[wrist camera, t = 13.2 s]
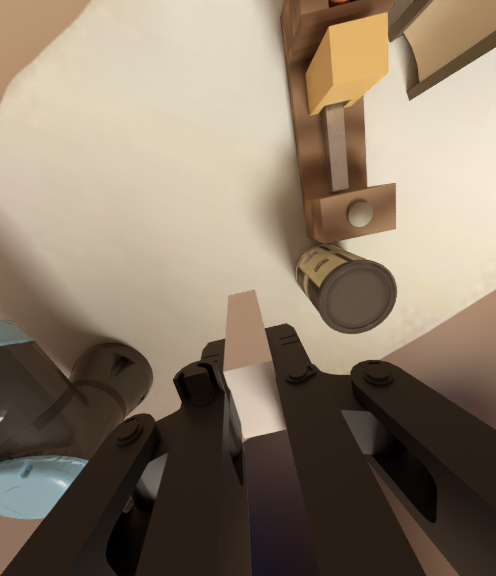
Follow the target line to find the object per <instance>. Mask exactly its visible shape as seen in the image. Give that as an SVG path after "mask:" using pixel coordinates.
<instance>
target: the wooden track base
mask: <svg viewBox="0 0 496 576" xmlns="http://www.w3.org/2000/svg"><path fill="white" fill-rule="evenodd" d="M393 5H394V0H351V1H350V3H347V4H343V5H339V6H335V7H331V8H329V5H328V0H284V2H283V7H282V12H281V25H282V33H283V41H284V49H285V58H286V66H287V74H288V82H289V90H290V98H291V106H292V114H293V122H294V130H295V138H296V146H297V154H298V162H299V170H300V178H301V186H302V194H303V202H304V210H305V218H306V226H307V234H308V237H311V238H313V239H315V240H317V241H319V242H322V243H324V244H326V243H331V242H336V241H341V240H345V239H350V238H355V237H360V236H364V235H369V234H374V233H379V232H383V231H388V230H393V229H396V183H392V184H385V185H378V186H371V187H367V171H366V147H365V124H364V100H363V96H362V97H360V98H359V99H358V100H357V101H356V102H355V103H354V104H353V105H352V106H349V107H345V108H343V109H344V124H345V140H346V155H347V170H348V186H349V188H347V189H342V190H338V191H333V192H328V181H327V170H326V159H325V148H324V137H323V126H322V115H321V111H320V112H319V113H318V114H315V115H310V113H309V104H308V94H307V84H306V75H305V74H306V72H307V70H308V68H309V66H310V64H311V62H312V60H313V58H314V56H315V54H316V52H317V50H318V47H319V45H320V43H321V41H322V39H323V37H324V35H325V33H326V31H327V29H328V27H329V26H333V25H337V24H341V23H345V22H349V21H353V20H357V19H361V18H366V17H370V16H374V15H378V14H382V13H386V12H389V10H390V9H391V8H392V6H393Z"/></svg>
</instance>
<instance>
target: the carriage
mask: <svg viewBox="0 0 496 576" xmlns="http://www.w3.org/2000/svg"><path fill="white" fill-rule="evenodd" d="M388 72H389V64H388V12H386V13H382V14H378V15H374V16H370V17H366V18H361V19H357V20H353V21H349V22H345V23H341V24H337V25H333V26H329V27H328V29H327V31H326V33H325V35H324V37H323V39H322V41H321V43H320V45H319V47H318V50H317V52H316V54H315V56H314V58H313V60H312V62H311V64H310V66H309V68H308V70H307V72H306V74H305V75H306V84H307V94H308V104H309V113H310V115H315V114H318V113H319V112H320V111H321V110H322V108H323V107H324V106H326V105H330V104H334V103H338V102H343V108H345V107H349V106H352V105H353V104H354V103H355V102H356V101H357V100H358V99H359V98H360V97H362V96H363V95H364V94H365V93H366V92H367V91H368V90H369V89H370V88H372V87H373V86H374V85H375V84H376V83H377V82H378V81H379V80H380V79H382V78H383V77H384V76H385V75H386V74H387V73H388Z"/></svg>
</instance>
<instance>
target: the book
mask: <svg viewBox="0 0 496 576" xmlns="http://www.w3.org/2000/svg"><path fill="white" fill-rule="evenodd" d="M402 34H404V35H405V36H406V38H407V40H408V41H409V43H410V45H411V46H412V49H413V52H414V55H415V58H416V62H417V65H418V75H419V83H418V84H417V85H415V86H414V87H413V88H411V89H410V90H408V91H407V95H408V98H409V101H410V100H412V99H413V98H415V97H416V96H418V95H420V94H421V93H423V92H424V91H426V90H428V89H429V88H431V87H432V86H434V85H436V84H437V83H439V82H440V81H442V80H444V79H445V78H447V77H449V76H450V75H452V74H453V73H455V72H457V71H458V70H460V69H461V68H463V67H465V66H466V65H468V64H469V63H471V62H473V61H474V60H476V59H477V58H479V57H481V56H482V55H484V54H485V53H487V52H489V51H490V50H492V49H494V48H495V47H496V0H414V1H413V3H412V4H411V5H410V6H409V7H408V8H407V10H406V11H405V12H404V13H403V14H402V15H401V17H400V18H399V19H398V20H397V21H396V22H395V24H394V25H393V26H392V27H391V28H390V29H389V31H388V38H389V41H390V43H391V42H392V41H393V40H395V39H396V38H398V37H399V36H401V35H402Z"/></svg>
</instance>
